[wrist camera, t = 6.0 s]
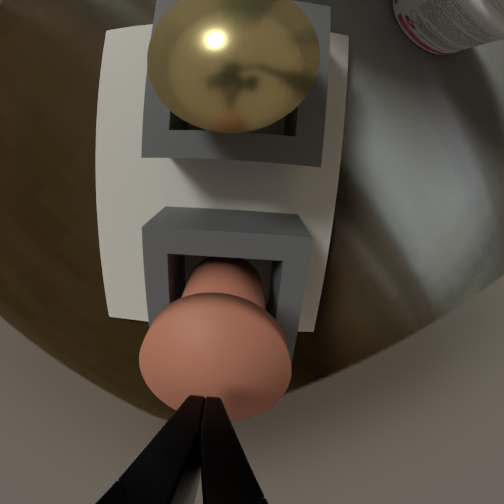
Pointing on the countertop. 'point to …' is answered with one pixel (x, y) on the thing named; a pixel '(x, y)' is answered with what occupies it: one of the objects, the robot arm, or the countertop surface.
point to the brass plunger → (233, 62)
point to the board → (215, 186)
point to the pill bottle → (450, 23)
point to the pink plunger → (218, 342)
